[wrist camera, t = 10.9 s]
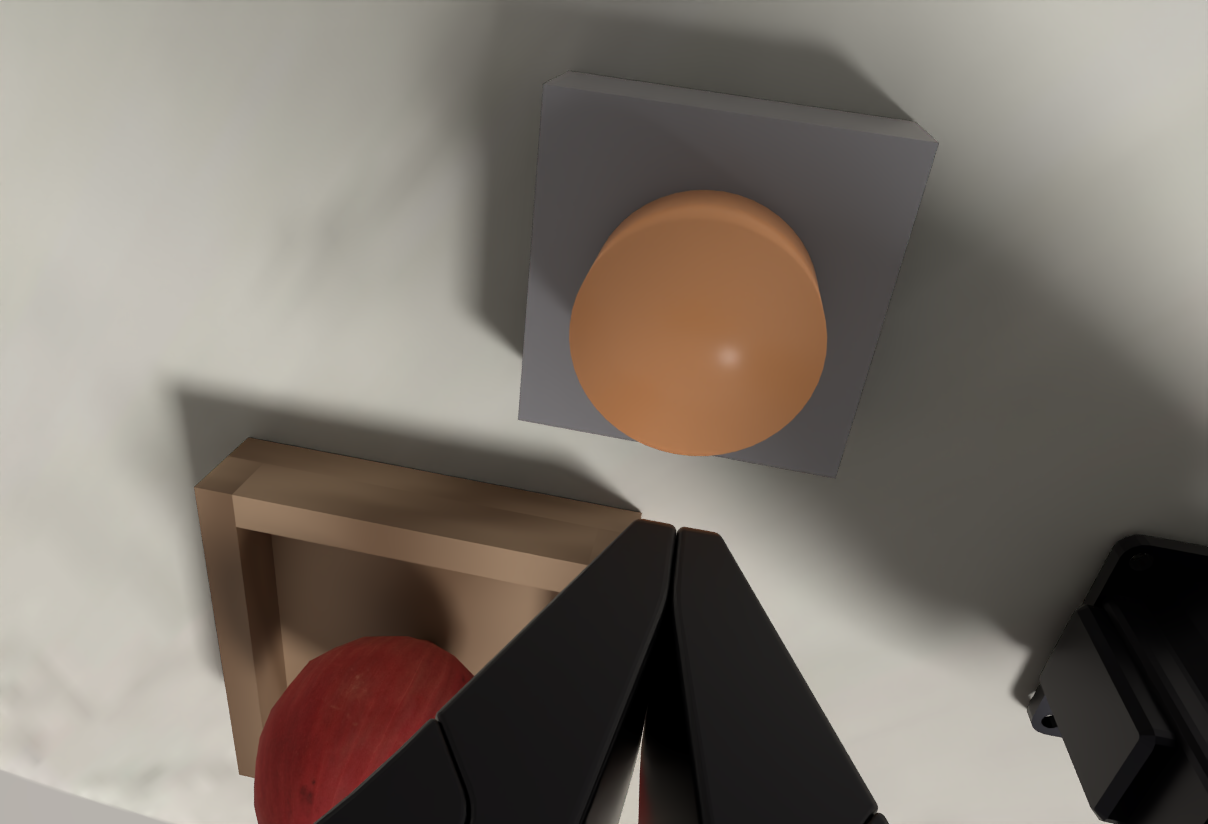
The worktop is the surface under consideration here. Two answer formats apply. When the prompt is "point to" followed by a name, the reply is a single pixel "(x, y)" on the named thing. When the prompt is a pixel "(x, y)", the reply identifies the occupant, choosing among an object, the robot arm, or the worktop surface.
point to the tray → (373, 564)
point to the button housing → (735, 165)
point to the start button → (700, 325)
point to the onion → (347, 722)
